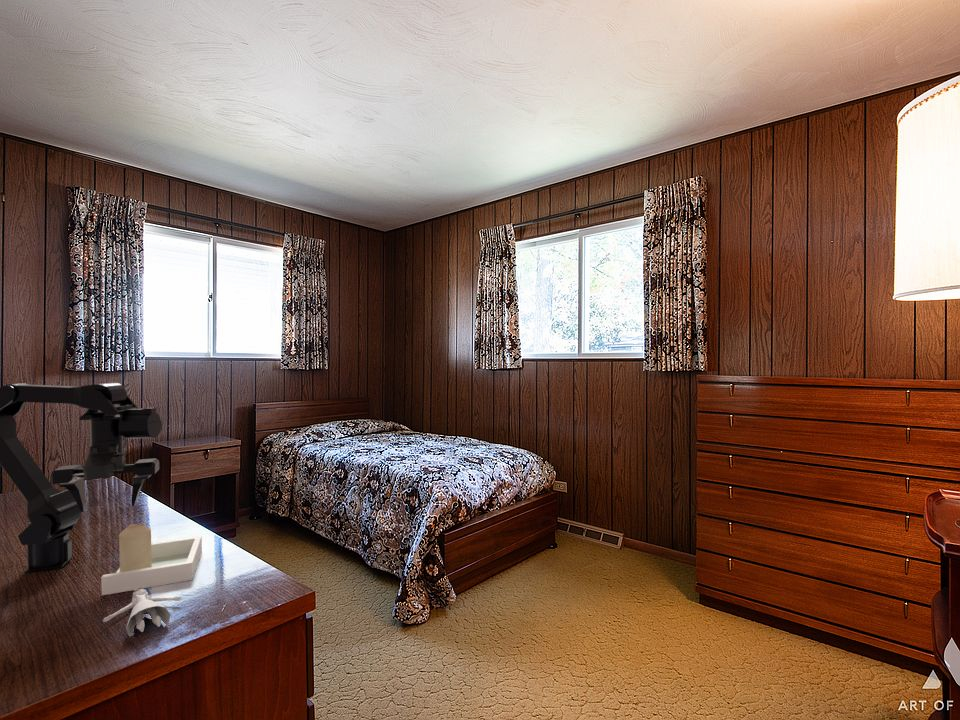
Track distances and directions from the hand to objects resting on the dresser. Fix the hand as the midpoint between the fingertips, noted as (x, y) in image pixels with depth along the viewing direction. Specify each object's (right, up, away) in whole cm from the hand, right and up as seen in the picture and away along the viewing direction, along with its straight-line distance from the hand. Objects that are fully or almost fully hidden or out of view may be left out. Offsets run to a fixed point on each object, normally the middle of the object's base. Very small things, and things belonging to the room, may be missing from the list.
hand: (108, 508), depth 109 cm
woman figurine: (+24, -13, -23) cm, 36 cm away
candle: (+10, -12, -6) cm, 17 cm away
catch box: (+13, -12, -5) cm, 19 cm away
